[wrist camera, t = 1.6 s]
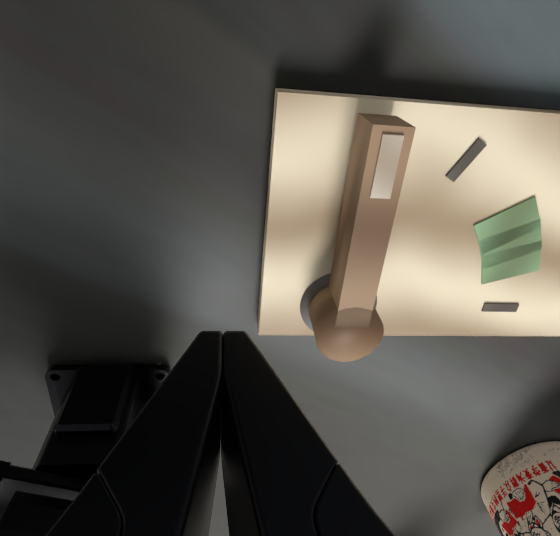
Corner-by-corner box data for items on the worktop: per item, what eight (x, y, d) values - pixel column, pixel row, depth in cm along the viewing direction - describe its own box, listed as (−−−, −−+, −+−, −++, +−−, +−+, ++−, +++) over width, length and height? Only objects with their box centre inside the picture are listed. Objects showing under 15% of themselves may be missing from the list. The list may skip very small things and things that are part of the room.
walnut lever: (364, 334, 23) (376, 362, 21) (305, 334, 22) (312, 363, 21) (415, 117, 17) (438, 129, 16) (338, 111, 17) (352, 123, 15)
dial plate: (556, 325, 26) (568, 337, 25) (257, 323, 24) (258, 336, 23) (660, 118, 20) (682, 123, 19) (275, 88, 18) (277, 92, 17)
